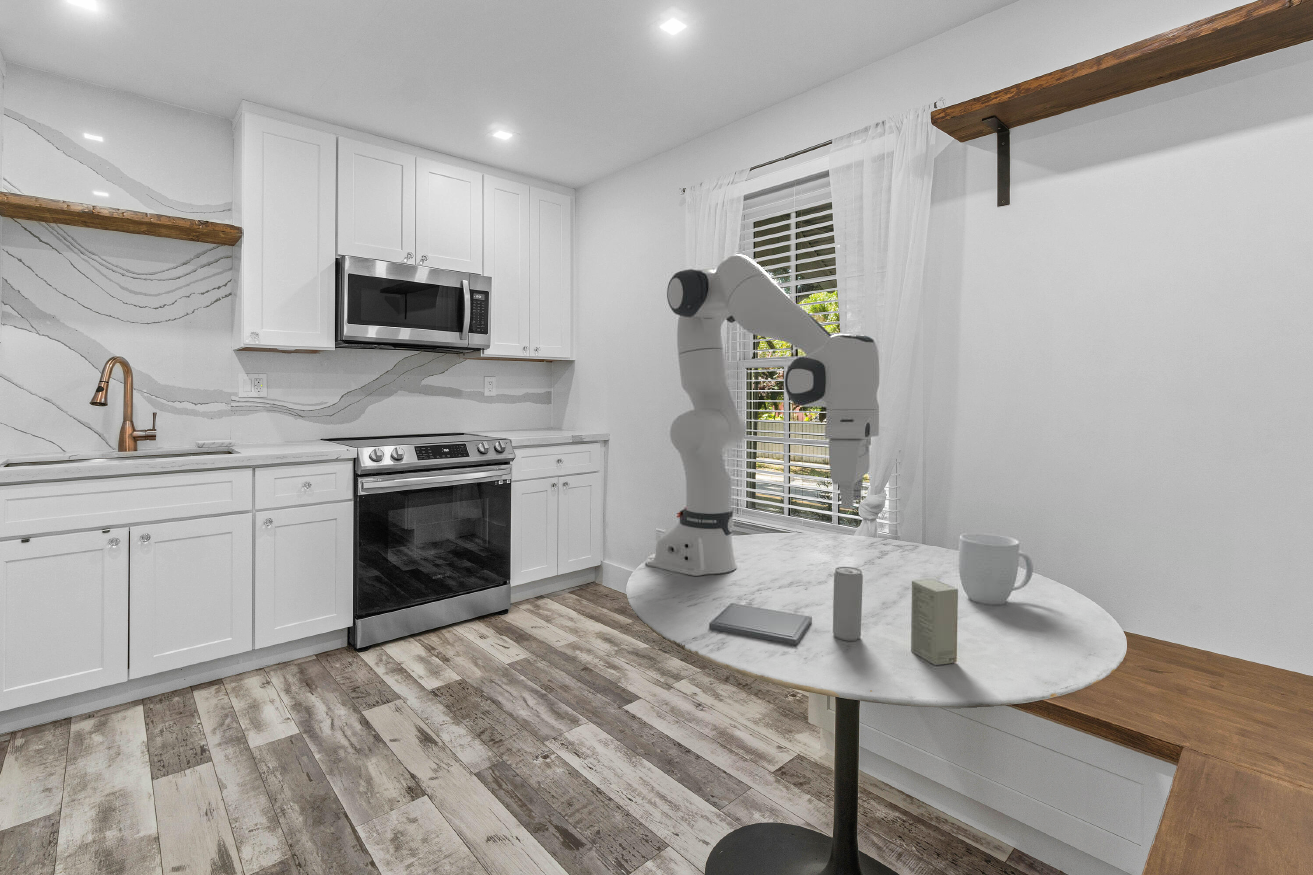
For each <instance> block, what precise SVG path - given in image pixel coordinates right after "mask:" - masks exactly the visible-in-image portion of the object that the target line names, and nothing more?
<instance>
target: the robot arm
mask: <svg viewBox="0 0 1313 875" xmlns="http://www.w3.org/2000/svg"><path fill="white" fill-rule="evenodd" d="M666 299H667V303H668V305H669V308H670V310H671V311H672V312H673V313H674V314H675V315H678V319H677V320H678V321H677V328H676V329H677V331H676V338H677V339H676V341H677V342H676V343H677V344H676V345H677V346H676V347H677V355H678V357H677V358H678V364H679V373H680V382H681V387H682V389H683V390H684V391H685V393H686V394H687V396H688V397H689V400H690V401H691V403H692V407H693V409H690V410H688V411H685V412H684V413H682V414H680V415H678V416H677V417H676V418H674V420H673V422H672V423H671V426H670V430H669V435H670V436H669V437H670V440H671V443H672V446H674V448H675V449H676V450H677V452H678V454H679V455H680V458H681V461H682V464H683V465H682V466H683V470H684V474H685V484H686V485H685V488H686V490H685V492H686V494H685V495H686V499H685V501H686V502H685V504H686V507H684V508H683V509H682V510H679V512H677V513H676V518H677V519H679V522H678V523H677V524H675V525H674V526H673V527H672V528H670V529H669V530H668V531H667V532H665V533H664V534H663V535H661V536H660V537H659V538H658V540H657V543H656V546H655V547H656V548H655V552H654V553H652V554H650V555H649V556H648V557H647V558H646V562H648V563H647V564H646V565H647V566H649V567H654V568H658V569H663V570H667V571H670V572H676V573H680V574H684V575H689V576H695V577H696V576H703V575H715V574H725V573H729V572H732V571H734V570H735V569H737V567H738V564H737V562H736V558H735V552H734V546H733V535H732V534H733V529H734V513H733V512H734V511H733V509H732V481H733V480H732V478H731V475H730V474H729V473H728V472H727V468H726V465H725V461H724V456H723V452H728V451H731V450H733V449H734V448H736V447H737V446H739V445H740V444H741V443H742V442H743V440H744V439H745V437H746V433H747V426H746V422H745V419H744V418H743V417H742V415H741V414H740V413H739V411H738V409H737V407H736V404H735V401H734V398H733V395H732V393H731V389H730V386H729V383H728V378H727V370H726V362H725V355H724V354H725V353H724V347H723V340H722V332H721V331H722V325H723V324H724V322H725V321H727V322H729V323H731V324H732V323H735V322H736V323H737V324H738V325H739V326H740V327H741V328H742V329H744V330H745V331H746V332H748V333H749V334H752V335H755V336H758V337H762V338H769V339H773V340H778V341H780V342H785V343H787V344H790V345H793V346H795V347H796V348H797V349H799V350H801V351H802V352H803V354H805V355H803V356H799V357H796V358H795V359H794V360H793V361H792V362H791V363H790V365H789V366H788V367H787V370H786V372H785V375H784V376H785V377H784V387H785V388H784V389H785V392H786V394H787V396H788V398H789V399H790V401H791V402H792V403H793V404H794V405H796V406H802V407H805V408H826V410H825V411H826V412H825V413H826V414H825V416H826V419H825V420H826V421H825V422H826V423H825V424H826V425H825V428H824V437H825V439H827V440H828V457H829V458H828V460H829V472H830V478H831V482H832V484H833V485H839V488H838V489H839V494H840V501H841V504H840V505H841V506H840V507H841V508H842V509H843V510H851V509H852V508H853V507H854V503H855V502H854V501H860V500H861V498H862V490H863V489H862V488H863V483H864V476H865V475H867V474H868V472H869V471H870V462H871V460H870V446H872V437H878V436H879V434H880V405H879V402H878V397H877V396H878V395H877V394H878V389H879V387H880V358H879V351H878V347H877V344H876V341H875V340H874V339H873V338H872V337H870V336H869V335H868V336H867V335H862V334H851V333H836V334H833V335H832V334H831V333H830V332H829V331H828V330H827V329H826V328H825V327H824V326H823V325H821V323H820V322H819V321H818V320H816V319H815V318H814V317H813V316H812V315H811V314H810V313H808V312H807V311H806V310H804V309H803V308H802V307H801V306H800V305H799V304H797V303H796V302H795V301H794V300H792V298H790V296H789V295H787V294H786V292H784V290H782V289H781V287H780V286H779V285H778V284H777V283H776V282H775V281H774V279H773V278H772V277H771V276H770V275H769V273H767V272H766V270H764V269H763V267H761V265H759V264H757V262H756V261H754V260H753V259H751V258H749V257H748V256H746V255H743V254H734V255H731V256H728V257H727V258H725V259H724V260H722V261H721V262H720V263H719V265H718V266H717V268H711V269H710V268H704V269H692V268H691V269H683V270H680V271H678V272H675V273H674V274H673V275H672V277H671V278H670V279H669V282H668V285H667V289H666ZM652 559H653V560H652ZM646 562H645V563H646Z"/></svg>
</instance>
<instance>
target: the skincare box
mask: <svg viewBox="0 0 1313 875" xmlns="http://www.w3.org/2000/svg"><path fill="white" fill-rule="evenodd" d="M958 598H959V589H958V588H957V587H954V586H953V585H949V584H946V583H945V582H942V581H939V580H937V579H934V578H927V579H916V580H911V613H910V615H911V623H910V626H911V627H910V628H911V629H910V633H911V634H910V651H911V652H913V654H915V655H917V656H918V657H920V658H922V659H924V660H925V661H927V662H929V663H930V664H932V665H934V666H939V665H941V666H942V665H948V664H949V665H950V664H954V663H957V660H958V614H959V613H958V607H959V605H958V604H959V599H958Z"/></svg>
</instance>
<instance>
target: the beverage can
mask: <svg viewBox="0 0 1313 875" xmlns="http://www.w3.org/2000/svg"><path fill="white" fill-rule="evenodd" d="M862 573H863V571H862V570H861V569H860V568H856V567H852V566H838V567H835V569H834V573H833V574H834V575H833V596H832V598H833V599H832V601H833V603H832V609H833V610H832V633H833V635H834V636H835V638H836V639H838V640H841V641H845V642H847V641H848V642H853V641H857V640H858V639H859V638H861V635H862V613H863V610H862V609H863V608H862V606H863V586H864V585H863V582H864V581H863V580H864V579H863V578H864V577H863V574H862Z"/></svg>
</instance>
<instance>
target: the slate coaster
mask: <svg viewBox="0 0 1313 875" xmlns="http://www.w3.org/2000/svg"><path fill="white" fill-rule="evenodd" d="M812 619H813V617H812V616H811V615H810V616H809V615H803V614H798V613H791V612H785V611H780V610H775V609H774V610H773V609H769V608H761V607H757V606H750V605H746V604H745V605H744V604H740V603H732V602H731V603H730V604H728V605H727V606H726V607H725V608H724V609H723V610H722V611H721V612H720V613H719V614H718V615H717V616H715V617H714V618H713V619H712V620H711V621H710V622H709V623H708V625H709V626H708V628H709V630H715V631H719V632H725V633H731V634H735V635H736V634H737V635H741V636H746V637H750V638H751V637H752V638H757V639H761V640H766V641H767V640H768V641H770V642H771V641H772V642H778V643H782V644H788V645H792V646H797V645H798V644H799V642H800V641H801V639H802V637H803V636H804V634H805V632H806V631H807V630H808V628H809V627H810V625H811V623H812V621H813V620H812Z"/></svg>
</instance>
